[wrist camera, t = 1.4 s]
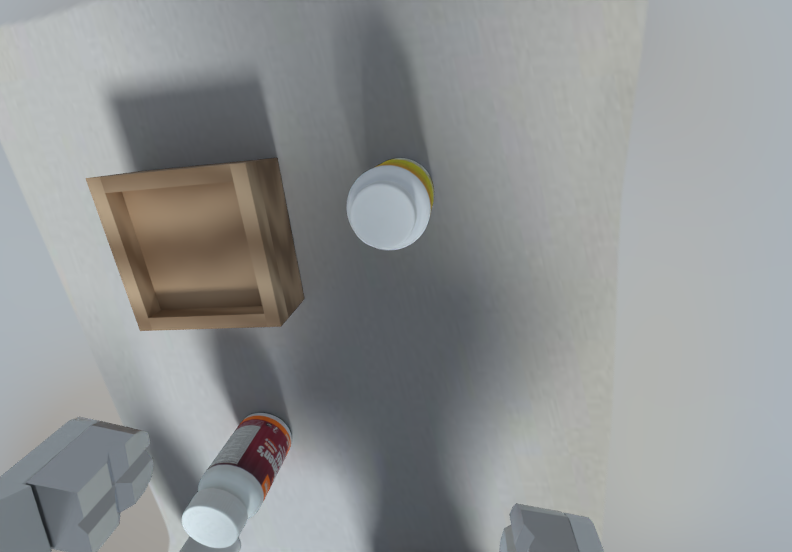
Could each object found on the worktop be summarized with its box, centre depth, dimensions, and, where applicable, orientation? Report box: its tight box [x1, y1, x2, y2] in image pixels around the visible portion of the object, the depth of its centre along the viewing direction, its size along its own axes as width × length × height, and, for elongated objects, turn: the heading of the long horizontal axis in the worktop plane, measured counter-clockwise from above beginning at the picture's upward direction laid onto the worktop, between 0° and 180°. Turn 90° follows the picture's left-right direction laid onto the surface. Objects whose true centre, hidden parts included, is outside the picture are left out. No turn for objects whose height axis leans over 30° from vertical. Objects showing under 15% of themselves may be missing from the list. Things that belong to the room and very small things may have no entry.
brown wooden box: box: [86, 158, 304, 331], centre depth 33 cm, size 13×13×6 cm
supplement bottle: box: [346, 158, 434, 250], centre depth 28 cm, size 6×6×10 cm
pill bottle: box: [182, 413, 292, 548], centre depth 38 cm, size 6×6×11 cm
